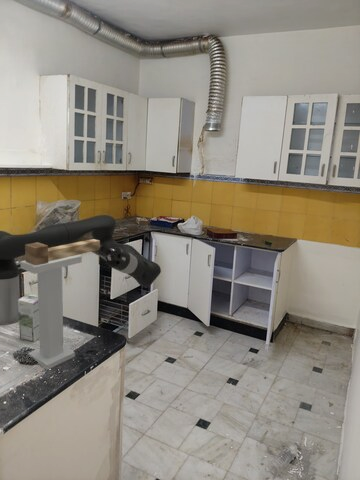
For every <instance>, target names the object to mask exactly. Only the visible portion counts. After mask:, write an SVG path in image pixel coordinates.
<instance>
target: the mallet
mask: <svg viewBox="0 0 360 480" xmlns="http://www.w3.org/2000/svg"><path fill="white" fill-rule="evenodd" d="M85 240H86V239H85ZM100 245H101V244H100V241H99V240H96V239H94V238H92V239H87V240H86V241H83V240H82V241H76V242H74V243H71V244H66V245H61V246H56V247H51V248H48V246H47V245H44V244H41V243H38V242H37V243H31V244H25V255H24V257H25V260H26V262H28V263H31V264H33V265H40V264H44V263H48V261H52V260H56V259H61V258H65V257H70V256H74V255H82V254H86V253H93V252H92V251H96V250H99V249H100Z"/></svg>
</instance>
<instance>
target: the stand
mask: <svg viewBox="0 0 360 480" xmlns="http://www.w3.org/2000/svg"><path fill="white" fill-rule="evenodd" d="M82 257H83V256H82V255H81V254H78V255H74V256H70V257H65V258H61V259H56V260H52V261H48V263H44V264H40V265H33V264H31V263H28V262H26V259H25V260H21V261H20V269H21V270H25V271H26V272H29V273H31V274H34V275H36V277H37V278H36V279H37V296H38V310H39V339H38V340H39V348H36V349H35V350H32V351H29V352H28V353H27V354H28V355H30V356H31V357H33V358H34V359H35V360H36V361H37V362H38V363H37V364H38V365H40V366H41V367H42V368H44V369H45V370H47V371H48V370H49V369H51V368H54V367H57V366H58V365H60V364H62V363H64V362H67V361H68V360H71V359H73V358H75V357H76V352H75V351H74V350H72V349H70V348H68V347H67V346H65V345H64V320H63V319H64V312H63V268H64V267H68V266H69V267H70V266H72V265H76V264H81V263H82V262H83V261H82ZM28 355H27V356H28Z"/></svg>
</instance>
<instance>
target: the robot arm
mask: <svg viewBox="0 0 360 480" xmlns="http://www.w3.org/2000/svg"><path fill="white" fill-rule="evenodd" d="M116 223H117V222H116V219H115V218H114V217H113V216H112V215H107V214H100V215H99V214H98V215H95V216H92V217H91V216H90V217H88V218H85V219H84V218H83V219H80V220H74V221H69V222H64V223H55V224H51V225H47V226H45V227H43V228H41V229H38V230H37V231H34V232H31V233H23V234H11V233H9V232H7V231H5V230H0V325H10V324H14V323H16V322H19V311H18V300H19V299H20V298H21V294H20V272H19V267H18V265H17V262H16V261H15V259H17V258H19V257H22V256H25V244H31V243H37V242H38V243H41V244H44V245H47V246H48V248H51V247H56V246H61V245H66V244H71V243H76V242H78V241H79V240H80V239H81V238H82V237H84V236H86V235H87V234H89V233H91V237H92V239H96V240H99V241H100V249H99V250H96V251H92V252H91V253H92V254H94V255H96V256H99V257H101V258H102V259H104V260H105V261H106V264H107V266H108V267H110V268H111V269H114V270H117V271H118V272H120V273H123V274H126V275H128V276H129V277H132V278H133V279H134V280H135V281H136V282H137V283H138V284H139V286H141V287H142V288H148V287H151V285H152V284H153V283H154V281H155V280H157V278H158V277H159V276H160V274H161V271H162V269H161V267H160V265H159V264H158V263H156V262H155V261H152V260H150V259H148V258H146V257H145V256H143V255H142V254H141V253H140V252H139V251H137V248H134V247H133V246H132V245H129V244H127V243H119V242H117V241H116V240H115V239H114V237H113V236H114V232H115V228H116ZM82 241H86V239H84V240H82Z"/></svg>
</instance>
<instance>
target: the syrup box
mask: <svg viewBox="0 0 360 480" xmlns="http://www.w3.org/2000/svg"><path fill="white" fill-rule="evenodd" d="M18 311H19V320H18V325H19V326H18V327H19V328H18V329H19V339H20V340H23V341H28V342H32V343H33V342H36V341H37V340H40V339H39V310H38V295H34V294H26V295H24V296H22V297H20V299H19V300H18Z"/></svg>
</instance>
